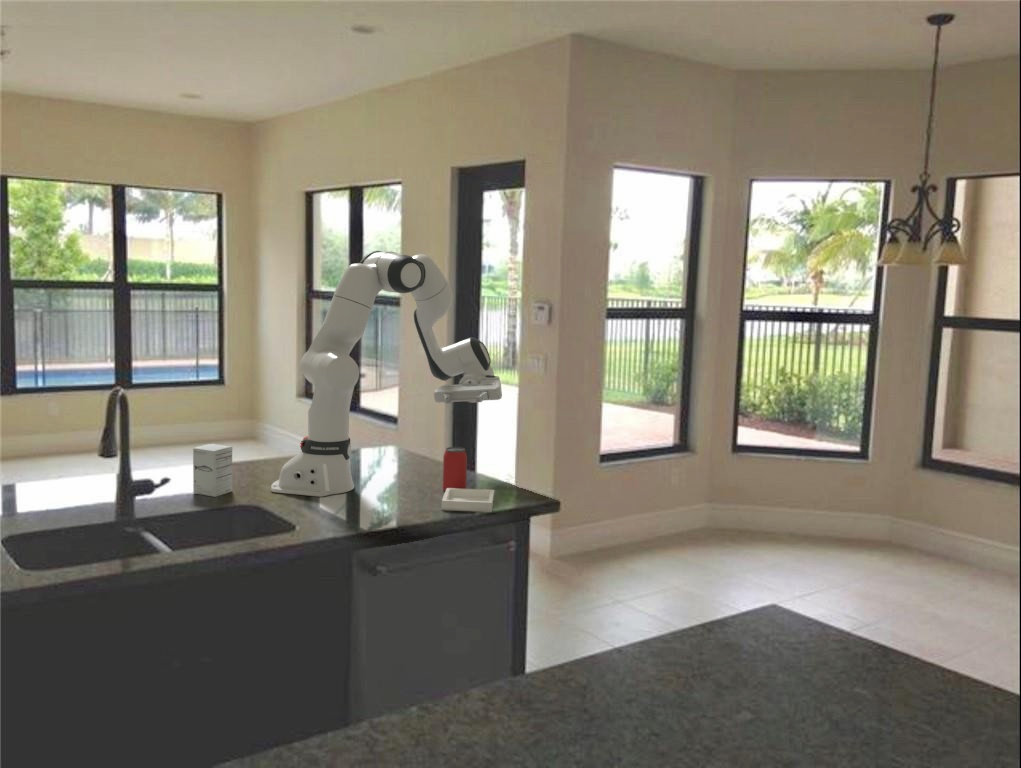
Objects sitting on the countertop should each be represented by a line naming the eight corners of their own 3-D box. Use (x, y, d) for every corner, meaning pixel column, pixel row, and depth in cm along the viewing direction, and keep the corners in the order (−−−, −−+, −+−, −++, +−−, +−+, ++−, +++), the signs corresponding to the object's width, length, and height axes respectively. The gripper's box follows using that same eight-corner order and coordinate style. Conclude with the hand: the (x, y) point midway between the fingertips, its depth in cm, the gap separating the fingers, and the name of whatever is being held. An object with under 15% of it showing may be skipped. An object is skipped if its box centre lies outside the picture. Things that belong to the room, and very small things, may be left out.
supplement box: (192, 494, 224) (191, 447, 223) (211, 487, 231) (211, 442, 229) (214, 497, 221) (213, 450, 220) (233, 491, 228) (233, 445, 227)
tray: (441, 510, 217) (441, 500, 217) (446, 496, 230) (446, 487, 230) (491, 512, 217) (492, 502, 216) (493, 498, 230) (494, 489, 229)
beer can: (455, 495, 232) (456, 452, 231) (437, 490, 236) (438, 448, 235) (470, 490, 238) (471, 449, 236) (453, 486, 241) (454, 445, 240)
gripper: (438, 379, 257) (426, 391, 244) (504, 375, 253) (495, 388, 240) (441, 398, 259) (429, 412, 246) (506, 395, 255) (497, 409, 242)
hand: (462, 400), depth 243 cm, fingers open, 8 cm apart
